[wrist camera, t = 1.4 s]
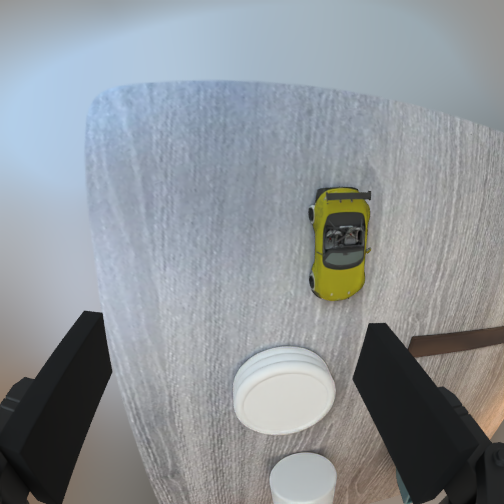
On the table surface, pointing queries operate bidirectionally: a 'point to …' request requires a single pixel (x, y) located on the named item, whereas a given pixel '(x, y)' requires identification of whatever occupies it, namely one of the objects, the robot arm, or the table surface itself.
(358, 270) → the sports car
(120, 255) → the table surface
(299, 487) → the mug
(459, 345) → the ruler
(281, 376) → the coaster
